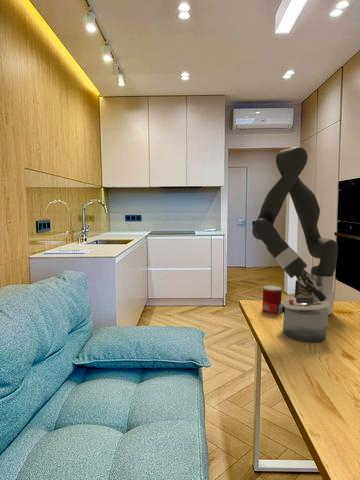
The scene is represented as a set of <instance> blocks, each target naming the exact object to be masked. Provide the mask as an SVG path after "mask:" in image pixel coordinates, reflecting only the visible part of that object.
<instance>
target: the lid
mask: <svg viewBox="0 0 360 480" xmlns="http://www.w3.org/2000/svg"><path fill="white" fill-rule="evenodd" d="M282 303H283V306H284V307H285V308H287V309H292V310H300V311H311V310H320V309H324V308H327V307H328V306H329V301H328V300H326V299H325V300H324V301H322V302H321V301H320V300H319V299H318V298H317V297H307V296H297V297H295V296H294V297H291V298H286V299H284V300H282Z"/></svg>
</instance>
